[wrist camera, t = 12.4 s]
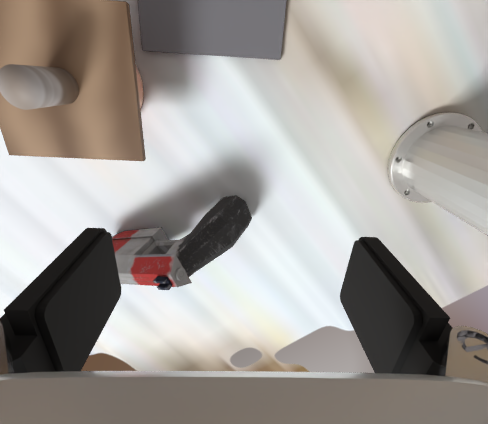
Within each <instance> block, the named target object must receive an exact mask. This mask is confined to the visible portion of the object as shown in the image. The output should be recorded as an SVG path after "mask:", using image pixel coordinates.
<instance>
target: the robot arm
mask: <svg viewBox="0 0 488 424" xmlns="http://www.w3.org/2000/svg"><path fill="white" fill-rule="evenodd" d="M388 177H389V180H390V183H391V185H392V187H393V189H394V190H395V191H396V192H397V193H398V194H399V195H401V196H402V197H404V198H406V199H408V200H410V201H414V202H419V203H427V202H434V203H435V204H437V205H438V206H440V207H442V208H443V209H445V210H447V211H448V212H450V213H451V214H453V215H455V216H456V217H458V218H460V219H461V220H463V221H464V222H466V223H468V224H469V225H471V226H473V227H474V228H476V229H478V230H479V231H481V232H482V233H484V234H486V235H487V236H488V133H485V132H482V129H481V128H480V126H479V125H478V123H477V122H476V121H475V120H473V119H472V118H471V117H468V116H466V115H464V114H459V113H451V112H444V113H437V114H434V115H431V116H428V117H426V118H424V119H422V120H420V121H418V122H417V123H415V124H414V125H413V126H411V127H410V128H409V129H408V130H407V131H406V132H405V133H404V134H403V135H402V136H401V137H400V139H399V140H398V141H397V143H396V145H395V146H394V148H393V150H392V153H391V155H390V158H389V163H388ZM120 295H121V284H120V279H119V274H118V268H117V263H116V258H115V252H114V247H113V241H112V236H111V234H110V233H109V232H107V231H106V230H105V229H104V228H87V229H85V230H84V231H83V232H82V233H81V234H80V235H79V236H78V237H77V238H76V239H75V240H74V241H73V242H72V243H71V244H70V245H69V246H68V247H67V248H66V249H65V250H64V251H63V252H62V253H61V254H60V255H59V256H58V257H57V258H56V259H55V260H54V261H53V262H52V263H51V264H50V265H49V266H48V267H47V268H46V269H45V270H44V271H43V272H42V273H41V274H40V275H39V276H38V277H37V278H36V279H35V280H34V281H33V282H32V283H31V284H30V285H29V286H28V287H27V288H26V289H25V290H24V291H23V292H22V293H21V294H20V295H19V296H18V297H17V298H16V299H15V300H14V301H13V302H12V303H11V304H10V305H8V306H7V307H6V308H5V309H4V312H5V314H4V315H3V316H2V317H1V318H0V424H488V334H487V333H485V332H483V331H481V330H478V329H475V328H472V327H467V326H456V327H454V328H452V327H451V326H450V325H449V323H448V321H449V319H450V317H449V316H448V315H447V314H446V313H445V312H444V311H443V310H442V309H441V307H440V306H439V305H438V304H437V303H436V302H435V301H434V300H433V299H432V297H431V296H430V295H429V294H428V293H427V292H426V291H425V290H424V289H423V288H422V286H421V285H420V284H419V283H418V282H417V281H416V280H415V279H414V278H413V276H412V275H411V274H410V273H409V272H408V271H407V270H406V269H405V268H404V267H403V265H402V264H401V263H400V262H399V261H398V260H397V259H396V258H395V257H394V256H393V254H392V253H391V252H390V251H389V250H388V249H387V248H386V247H385V246H384V244H383V243H382V242H381V241H380V240H379V239H378V238H376V237H361V238H360V239H359V240H357V241H355V242H354V245H353V249H352V253H351V256H350V260H349V264H348V267H347V271H346V274H345V278H344V282H343V285H342V289H341V293H340V299H341V303H342V305H343V307H344V309H345V311H346V313H347V315H348V318H349V320H350V322H351V324H352V326H353V328H354V330H355V332H356V334H357V336H358V338H359V341H360V343H361V345H362V347H363V349H364V351H365V353H366V355H367V357H368V359H369V361H370V364H371V366H372V368H373V370H374V372H375V373H335V372H334V373H333V372H244V371H81V369H82V367H83V366H84V364H85V362H86V360H87V358H88V356H89V354H90V352H91V351H92V349H93V347H94V345H95V343H96V341H97V339H98V337H99V336H100V334H101V332H102V330H103V328H104V326H105V324H106V322H107V321H108V319H109V317H110V315H111V313H112V311H113V309H114V307H115V306H116V304H117V302H118V300H119V298H120Z"/></svg>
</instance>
